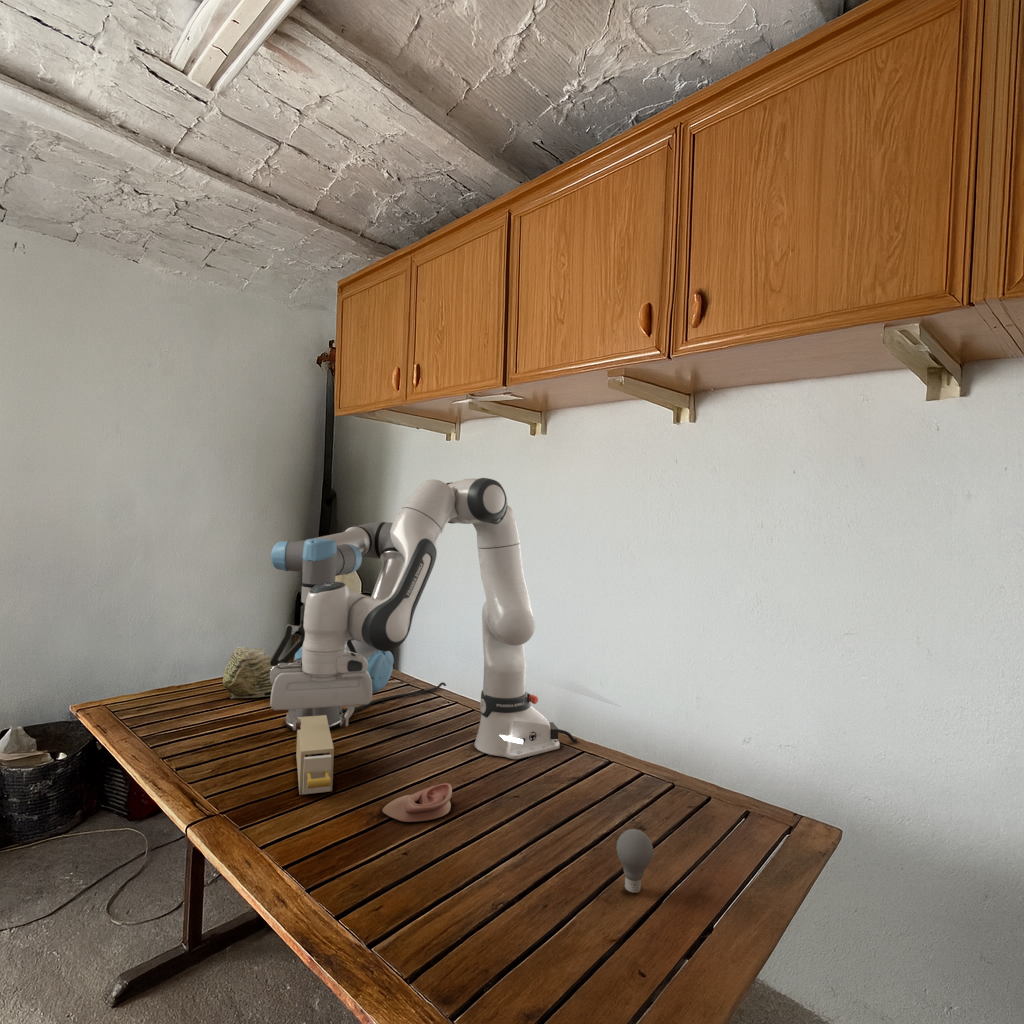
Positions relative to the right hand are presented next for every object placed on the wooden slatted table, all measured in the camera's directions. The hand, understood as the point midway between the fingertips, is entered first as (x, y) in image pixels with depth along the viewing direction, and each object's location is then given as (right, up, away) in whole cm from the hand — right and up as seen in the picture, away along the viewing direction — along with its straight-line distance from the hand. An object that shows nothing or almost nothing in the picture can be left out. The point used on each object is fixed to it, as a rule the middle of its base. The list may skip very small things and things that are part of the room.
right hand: (320, 727), depth 131 cm
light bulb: (+60, -19, -26) cm, 68 cm away
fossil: (-41, -13, +67) cm, 79 cm away
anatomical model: (+20, -17, -1) cm, 26 cm away
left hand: (-7, +2, +19) cm, 21 cm away
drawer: (-4, -14, +9) cm, 17 cm away
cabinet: (-6, -15, +14) cm, 22 cm away
